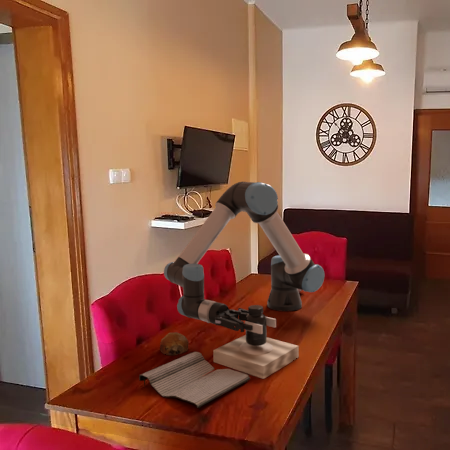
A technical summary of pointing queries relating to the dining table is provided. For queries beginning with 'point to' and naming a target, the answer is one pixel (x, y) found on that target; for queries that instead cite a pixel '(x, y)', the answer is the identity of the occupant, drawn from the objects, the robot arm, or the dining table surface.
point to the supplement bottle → (258, 318)
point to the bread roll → (174, 344)
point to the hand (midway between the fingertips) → (268, 326)
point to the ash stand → (256, 356)
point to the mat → (193, 379)
